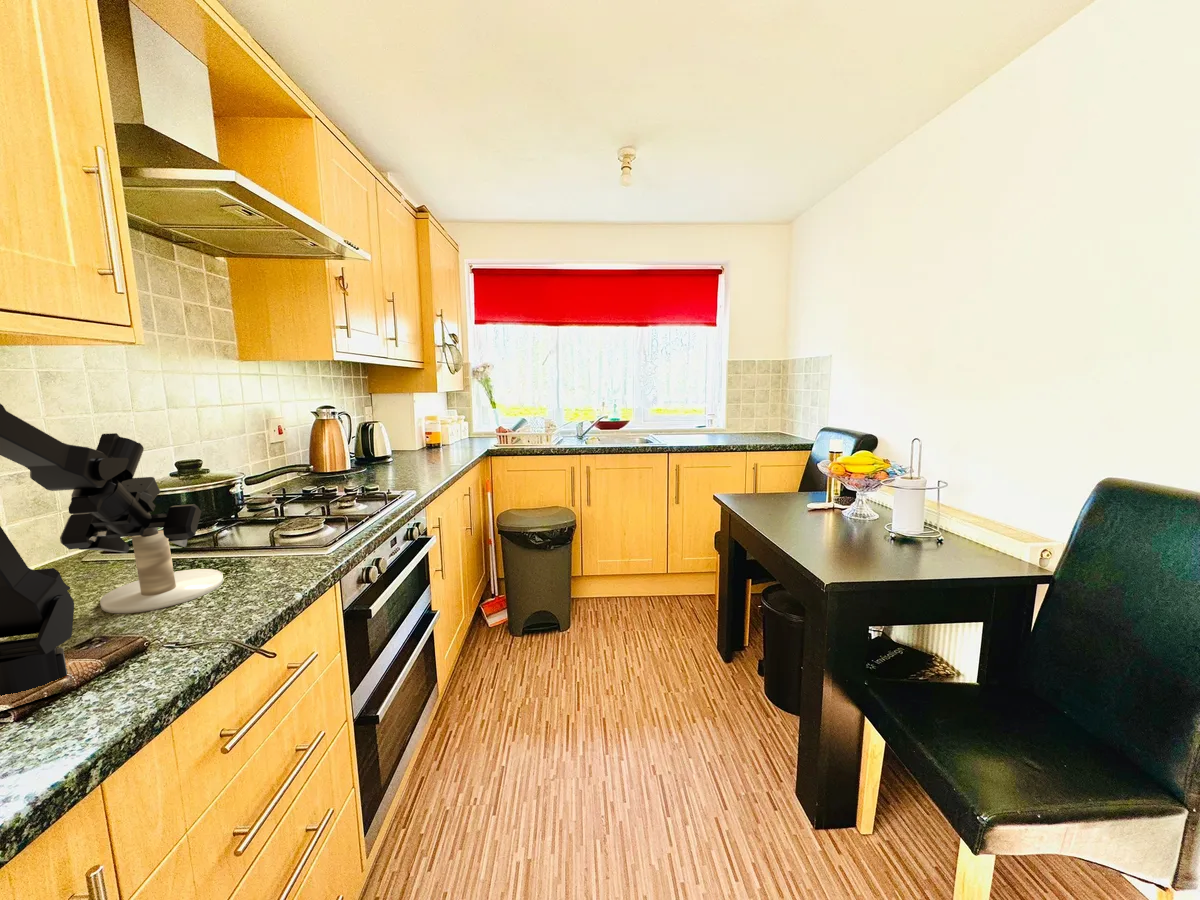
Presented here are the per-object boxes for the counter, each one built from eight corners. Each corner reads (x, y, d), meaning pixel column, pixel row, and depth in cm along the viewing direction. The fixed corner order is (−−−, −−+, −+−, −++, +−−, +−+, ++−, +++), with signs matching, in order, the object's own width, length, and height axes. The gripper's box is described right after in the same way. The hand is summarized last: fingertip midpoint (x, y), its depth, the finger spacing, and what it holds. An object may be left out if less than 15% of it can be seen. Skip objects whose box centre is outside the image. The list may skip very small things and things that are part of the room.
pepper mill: (153, 596, 93) (141, 529, 91) (134, 594, 94) (123, 527, 92) (182, 585, 97) (172, 521, 95) (164, 583, 99) (154, 519, 97)
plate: (104, 623, 85) (102, 616, 85) (98, 594, 97) (97, 588, 97) (232, 589, 98) (231, 584, 98) (213, 567, 110) (212, 562, 110)
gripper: (189, 461, 91) (223, 506, 103) (60, 469, 86) (111, 515, 98) (173, 514, 85) (210, 555, 97) (32, 526, 79) (90, 568, 91)
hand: (157, 547), depth 96 cm, fingers open, 9 cm apart
